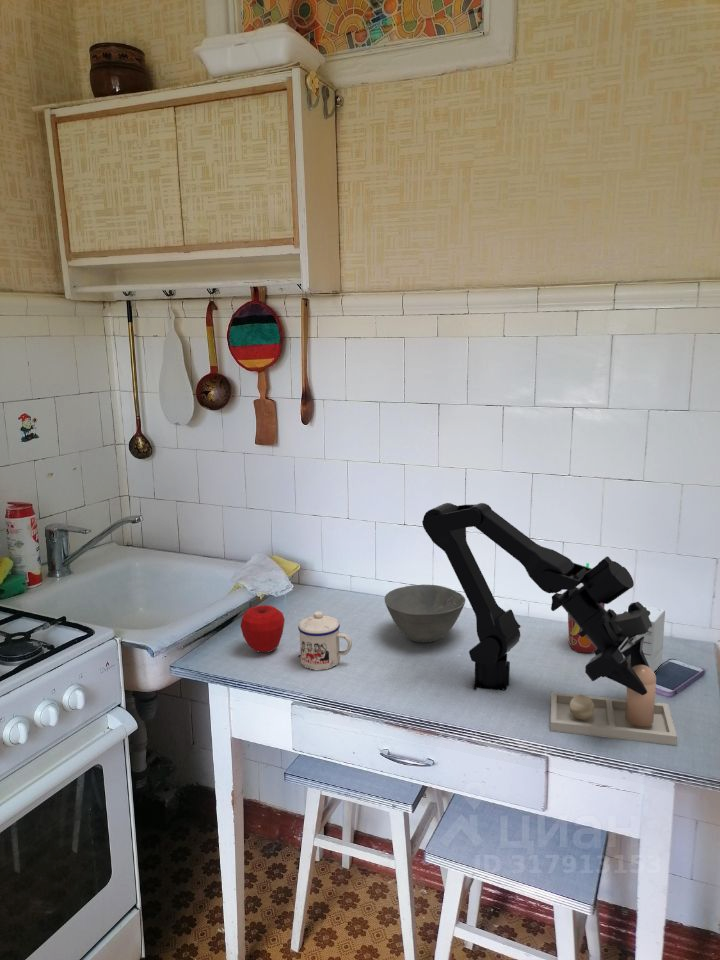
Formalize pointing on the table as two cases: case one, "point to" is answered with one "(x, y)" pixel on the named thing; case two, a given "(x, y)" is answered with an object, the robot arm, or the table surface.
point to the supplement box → (653, 637)
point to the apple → (262, 627)
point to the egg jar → (641, 698)
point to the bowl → (424, 610)
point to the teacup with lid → (321, 641)
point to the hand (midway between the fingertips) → (649, 687)
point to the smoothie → (574, 638)
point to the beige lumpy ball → (581, 707)
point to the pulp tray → (611, 720)
